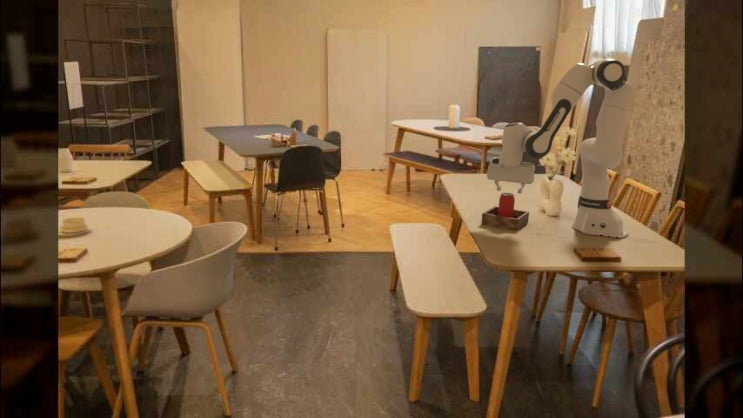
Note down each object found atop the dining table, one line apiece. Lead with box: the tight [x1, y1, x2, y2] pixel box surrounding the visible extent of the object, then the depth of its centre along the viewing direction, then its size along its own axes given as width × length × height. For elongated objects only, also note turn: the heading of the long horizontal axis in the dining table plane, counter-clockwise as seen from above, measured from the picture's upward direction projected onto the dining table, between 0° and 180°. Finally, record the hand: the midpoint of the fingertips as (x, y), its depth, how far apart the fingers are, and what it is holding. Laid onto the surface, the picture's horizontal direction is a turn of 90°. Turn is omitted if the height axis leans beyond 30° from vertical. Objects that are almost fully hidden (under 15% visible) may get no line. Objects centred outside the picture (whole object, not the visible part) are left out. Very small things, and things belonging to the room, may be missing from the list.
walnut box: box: [481, 205, 530, 232], centre depth 252 cm, size 16×16×5 cm
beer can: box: [498, 192, 516, 218], centre depth 251 cm, size 7×7×12 cm
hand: (509, 191), depth 249 cm, fingers open, 8 cm apart
